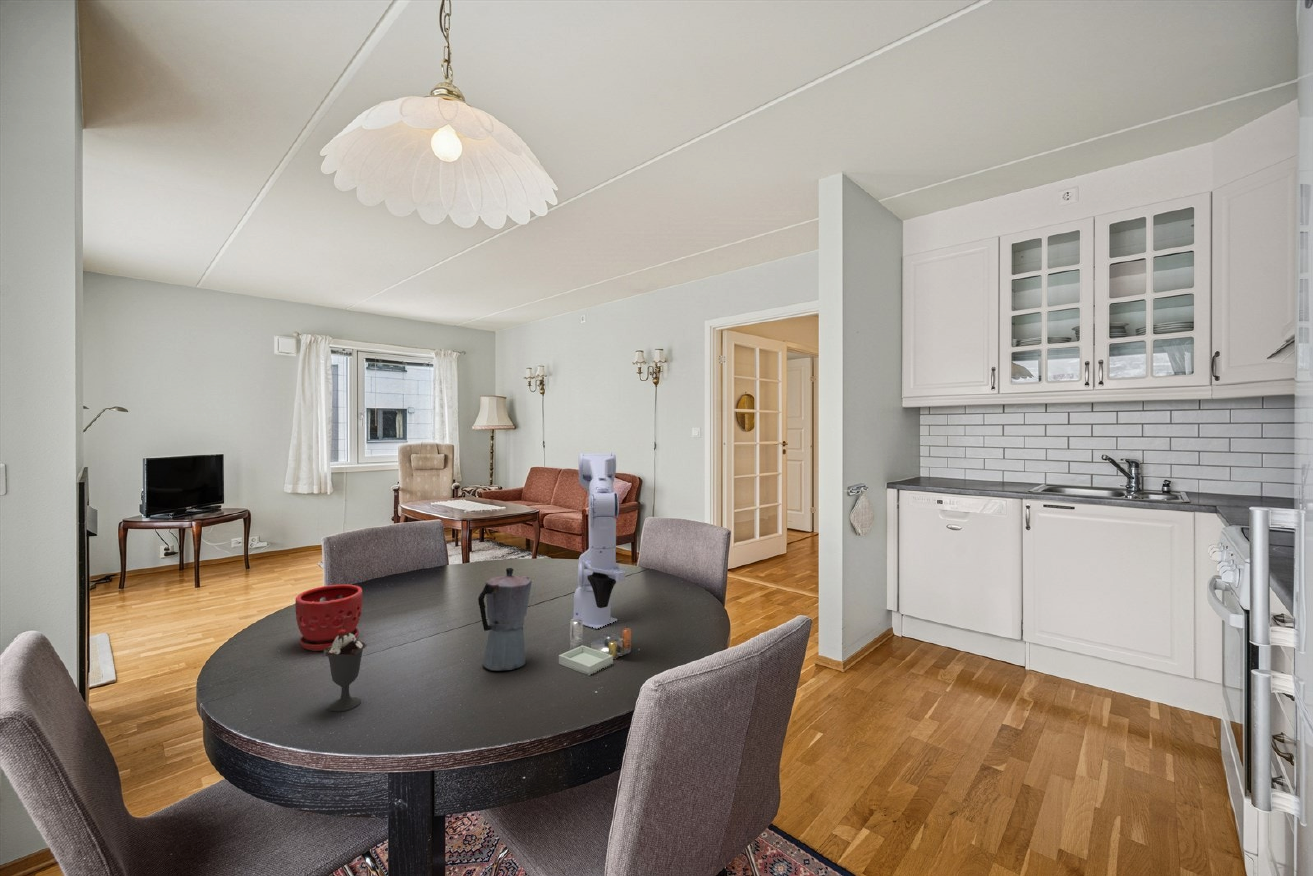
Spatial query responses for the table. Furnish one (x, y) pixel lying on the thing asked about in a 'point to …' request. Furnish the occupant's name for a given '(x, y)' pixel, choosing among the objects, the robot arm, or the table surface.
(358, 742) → the table surface
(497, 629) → the moka pot
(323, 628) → the plant pot
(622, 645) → the crank
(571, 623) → the clear glass cylinder
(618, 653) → the crank base
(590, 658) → the tray
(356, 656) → the sundae
